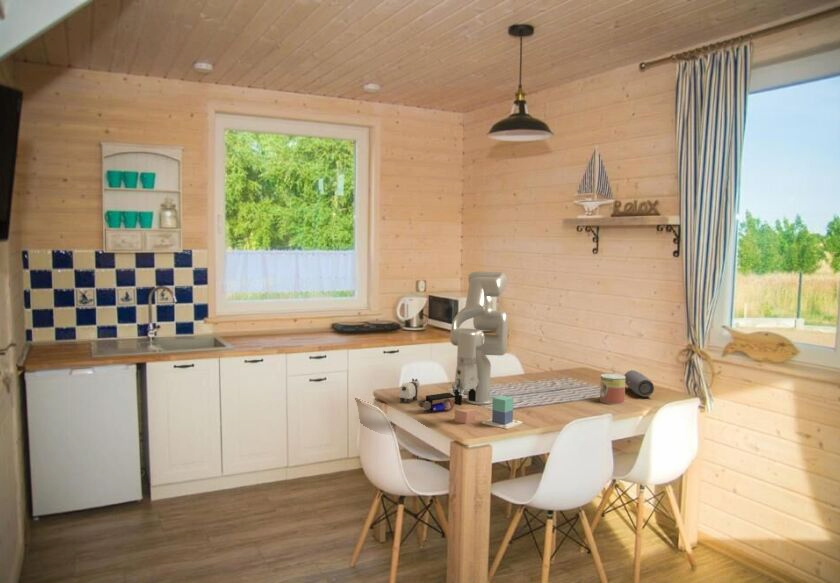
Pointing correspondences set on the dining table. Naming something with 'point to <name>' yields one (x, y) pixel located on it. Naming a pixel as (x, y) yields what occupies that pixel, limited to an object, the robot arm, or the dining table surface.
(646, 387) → the bluetooth speaker
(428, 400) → the figurine character
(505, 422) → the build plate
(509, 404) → the teal brick
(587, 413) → the dining table surface
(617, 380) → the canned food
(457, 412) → the coral brick
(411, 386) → the giant panda
